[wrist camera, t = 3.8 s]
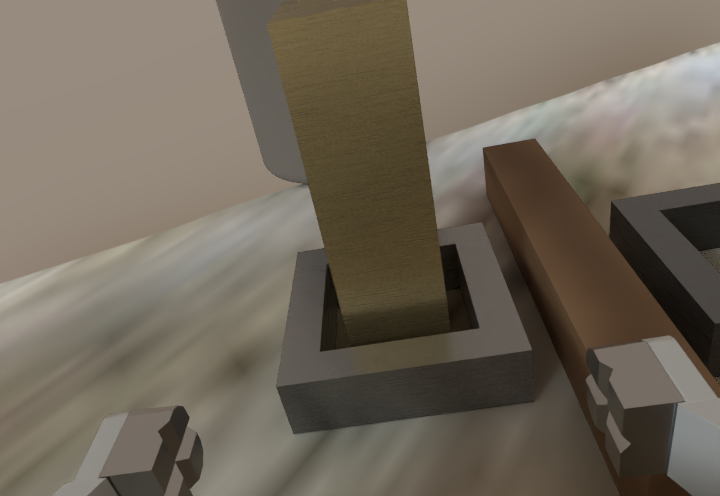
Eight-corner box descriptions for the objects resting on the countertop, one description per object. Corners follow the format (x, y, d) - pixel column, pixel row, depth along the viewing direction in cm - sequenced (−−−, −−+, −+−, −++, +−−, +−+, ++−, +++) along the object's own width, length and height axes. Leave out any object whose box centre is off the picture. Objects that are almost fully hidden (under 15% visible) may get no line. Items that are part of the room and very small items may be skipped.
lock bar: (358, 377, 23) (266, 23, 16) (357, 316, 27) (281, 1, 20) (455, 363, 23) (405, -5, 16) (442, 303, 27) (396, -22, 19)
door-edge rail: (641, 541, 16) (649, 474, 14) (486, 193, 35) (482, 147, 33) (753, 529, 16) (774, 458, 14) (536, 185, 34) (534, 138, 33)
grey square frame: (293, 433, 22) (276, 386, 20) (309, 293, 29) (297, 252, 28) (534, 401, 21) (532, 349, 19) (485, 265, 28) (482, 222, 27)
